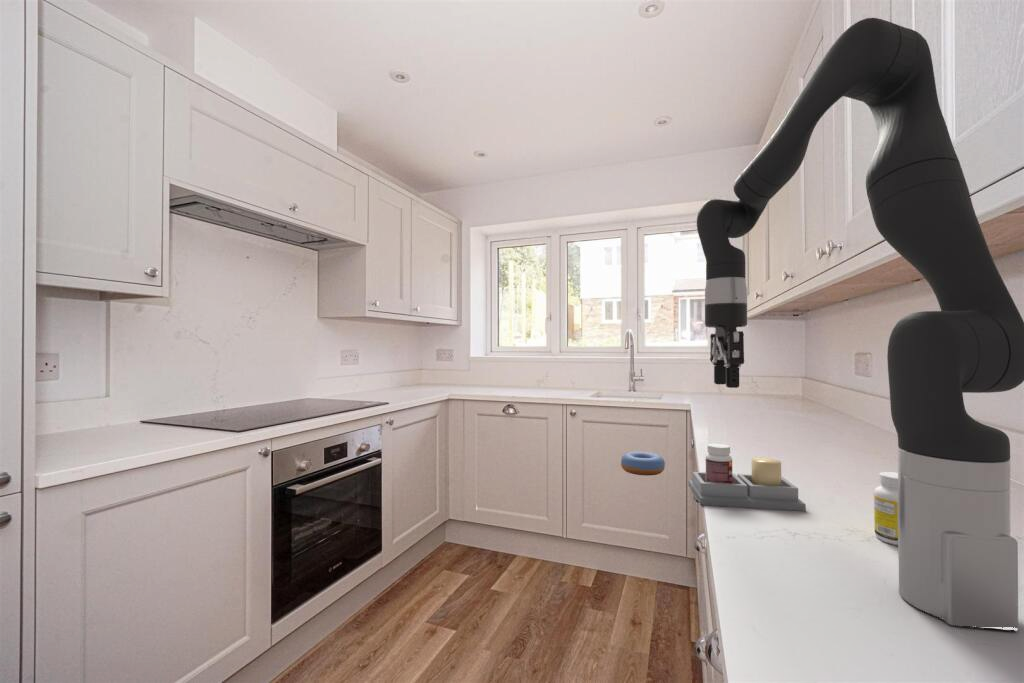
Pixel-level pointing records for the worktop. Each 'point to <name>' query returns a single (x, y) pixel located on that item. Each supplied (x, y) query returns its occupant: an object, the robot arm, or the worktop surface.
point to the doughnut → (642, 463)
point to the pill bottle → (718, 464)
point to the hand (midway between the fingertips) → (726, 385)
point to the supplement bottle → (886, 508)
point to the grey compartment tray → (750, 489)
